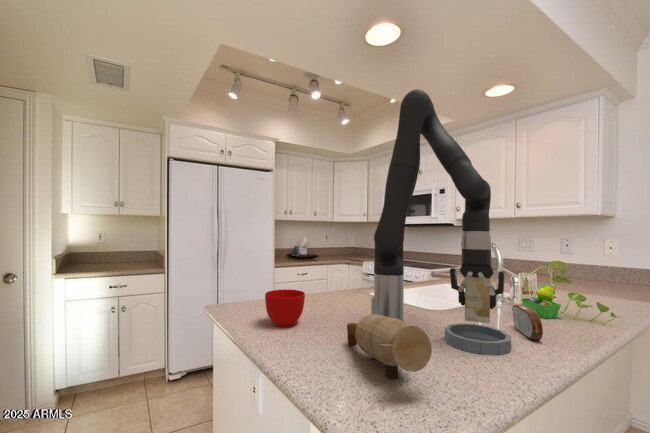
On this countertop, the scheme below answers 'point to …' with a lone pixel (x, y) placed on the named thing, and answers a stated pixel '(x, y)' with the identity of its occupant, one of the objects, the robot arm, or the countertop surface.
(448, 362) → the countertop surface
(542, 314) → the fruit basket
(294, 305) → the ceramic cup
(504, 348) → the round dish
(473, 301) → the skincare box
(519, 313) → the tin
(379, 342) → the wooden log toy
